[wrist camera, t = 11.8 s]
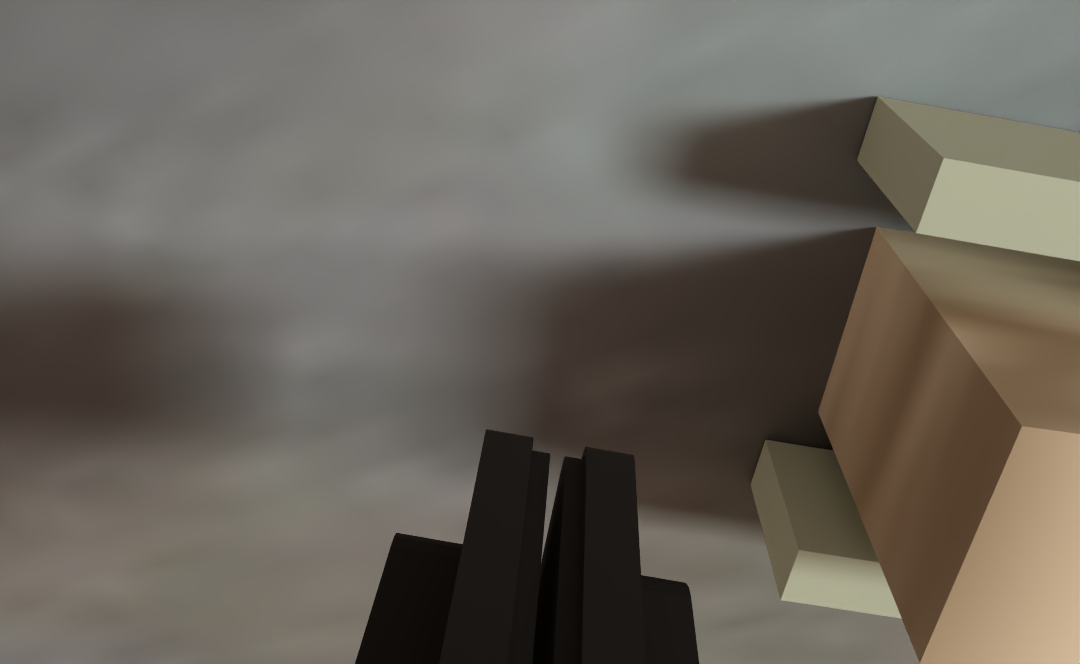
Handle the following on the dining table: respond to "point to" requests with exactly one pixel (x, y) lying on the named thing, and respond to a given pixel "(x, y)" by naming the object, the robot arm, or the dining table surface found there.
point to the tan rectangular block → (966, 443)
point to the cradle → (937, 210)
